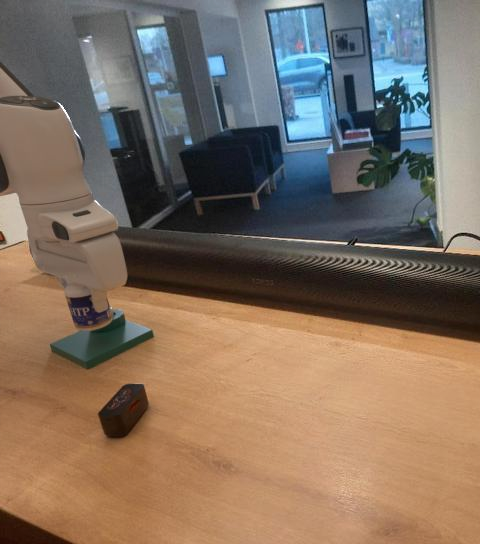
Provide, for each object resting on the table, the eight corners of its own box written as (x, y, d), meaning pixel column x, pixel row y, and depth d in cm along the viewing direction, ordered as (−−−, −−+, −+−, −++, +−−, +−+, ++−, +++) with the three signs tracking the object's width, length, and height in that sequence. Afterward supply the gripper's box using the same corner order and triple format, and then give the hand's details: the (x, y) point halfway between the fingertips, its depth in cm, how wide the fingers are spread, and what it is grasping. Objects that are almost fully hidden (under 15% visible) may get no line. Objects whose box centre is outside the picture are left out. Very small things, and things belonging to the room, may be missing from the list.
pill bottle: (67, 330, 74) (49, 276, 71) (94, 315, 79) (79, 263, 76) (95, 333, 73) (78, 278, 70) (121, 317, 78) (106, 264, 74)
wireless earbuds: (154, 400, 64) (148, 379, 63) (125, 438, 57) (118, 415, 56) (120, 400, 65) (114, 379, 63) (87, 438, 58) (80, 415, 57)
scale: (50, 351, 78) (45, 334, 77) (116, 322, 87) (112, 306, 86) (88, 370, 72) (82, 352, 71) (155, 336, 81) (151, 320, 80)
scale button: (95, 319, 82) (93, 311, 82) (109, 313, 84) (107, 305, 83) (103, 322, 81) (101, 313, 80) (117, 316, 83) (114, 308, 82)
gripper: (5, 215, 73) (34, 300, 78) (76, 231, 62) (105, 329, 67) (50, 205, 78) (74, 286, 83) (123, 218, 67) (146, 311, 72)
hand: (89, 305), depth 75 cm, fingers closed on pill bottle, 5 cm apart
